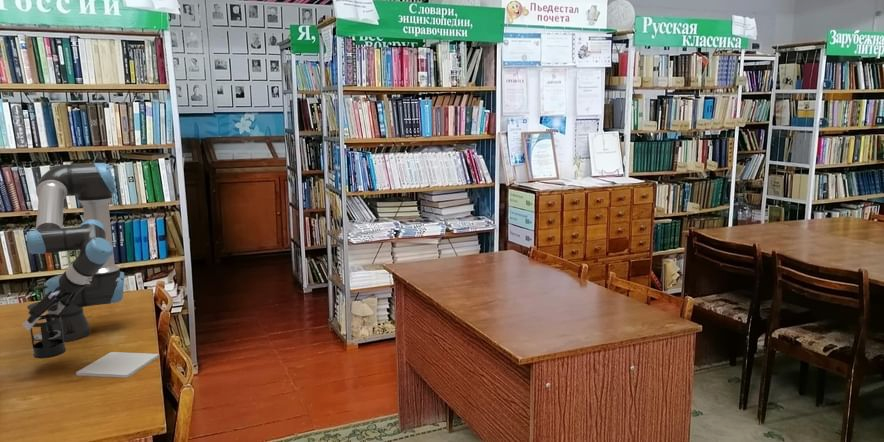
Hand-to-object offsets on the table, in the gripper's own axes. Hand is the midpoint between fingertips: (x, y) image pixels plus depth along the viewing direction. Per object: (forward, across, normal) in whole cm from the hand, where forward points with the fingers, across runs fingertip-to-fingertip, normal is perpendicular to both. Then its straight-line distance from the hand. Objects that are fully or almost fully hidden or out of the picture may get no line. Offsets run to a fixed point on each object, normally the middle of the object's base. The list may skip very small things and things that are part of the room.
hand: (38, 321), depth 217 cm
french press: (+5, 0, -10) cm, 11 cm away
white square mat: (-7, +3, -29) cm, 30 cm away
